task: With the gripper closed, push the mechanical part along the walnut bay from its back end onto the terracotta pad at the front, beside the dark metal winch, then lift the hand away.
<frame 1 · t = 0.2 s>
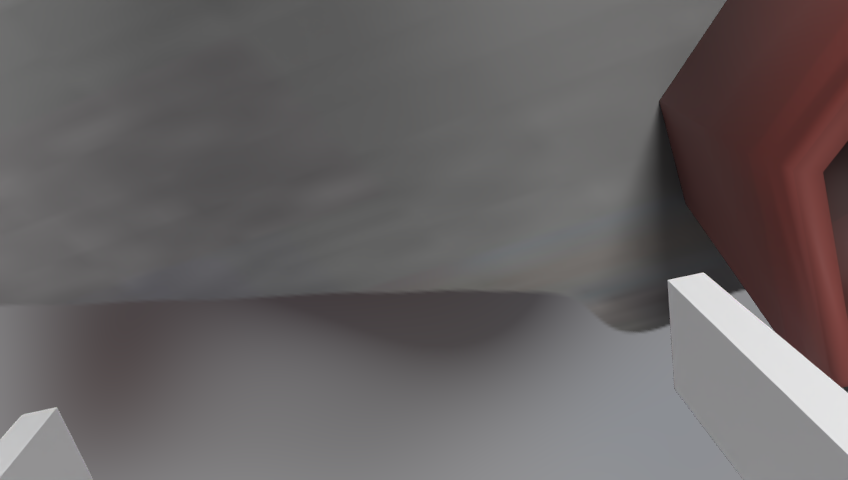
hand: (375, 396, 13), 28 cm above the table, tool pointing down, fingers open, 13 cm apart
bucket: (793, 101, 40), on the table
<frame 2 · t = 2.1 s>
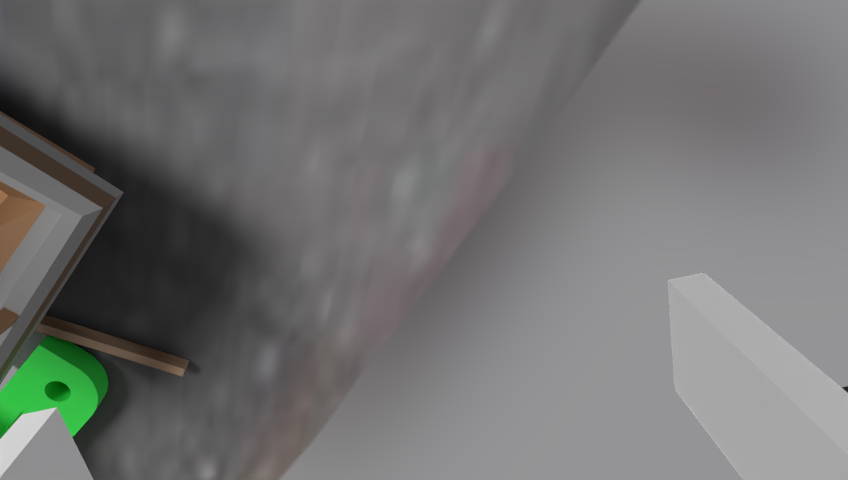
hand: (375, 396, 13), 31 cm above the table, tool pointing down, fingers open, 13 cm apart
mechanical part: (46, 402, 48), resting in bay
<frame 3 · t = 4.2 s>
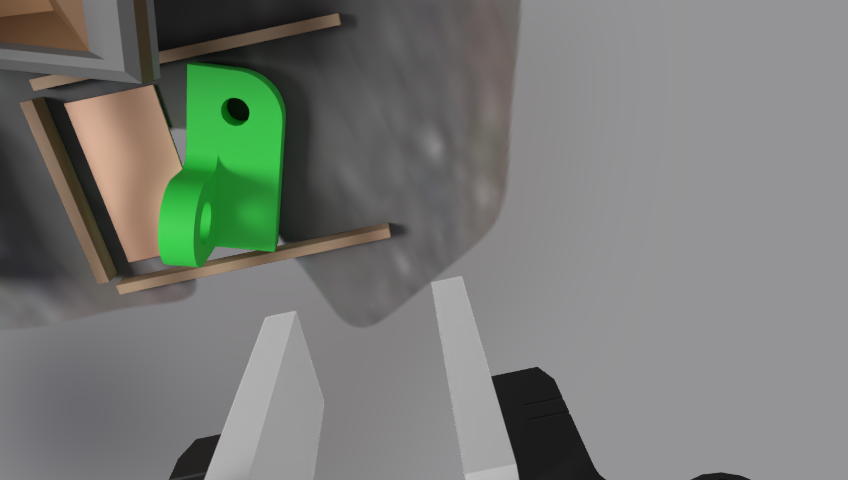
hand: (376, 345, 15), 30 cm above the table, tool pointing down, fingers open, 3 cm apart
bay: (183, 168, 43), on the table
mechanical part: (239, 156, 43), resting in bay
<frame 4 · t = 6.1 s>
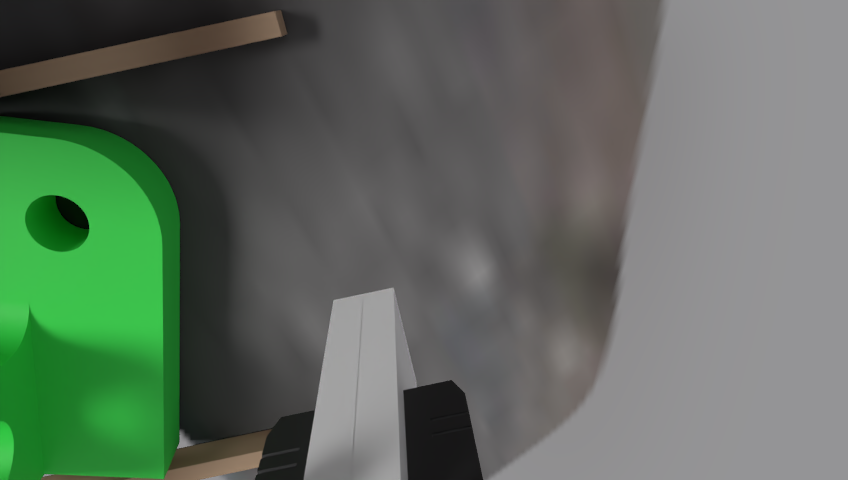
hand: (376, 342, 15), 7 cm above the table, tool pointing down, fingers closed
mechanical part: (92, 293, 22), resting in bay
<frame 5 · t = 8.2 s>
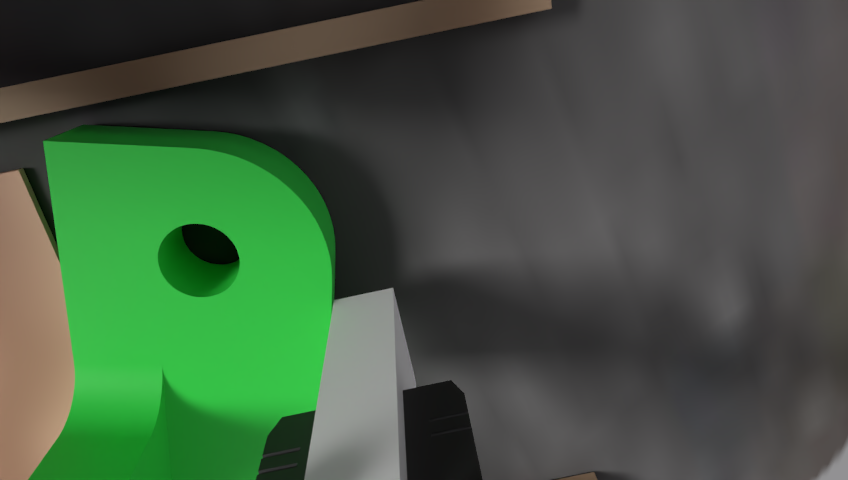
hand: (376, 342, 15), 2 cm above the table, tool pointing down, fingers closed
bay: (110, 367, 17), on the table
mechanical part: (224, 344, 17), resting in bay
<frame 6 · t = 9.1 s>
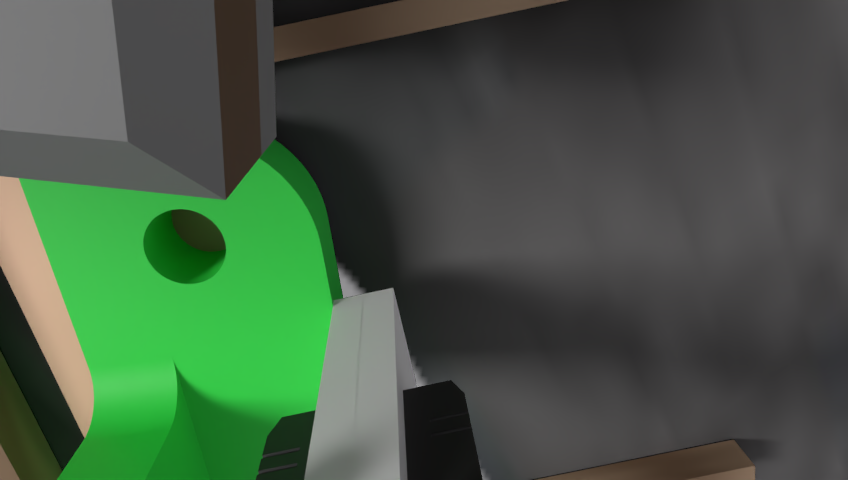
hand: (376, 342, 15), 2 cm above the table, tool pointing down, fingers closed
bay: (269, 331, 17), on the table
mechanical part: (240, 331, 17), resting in bay, touching gripper
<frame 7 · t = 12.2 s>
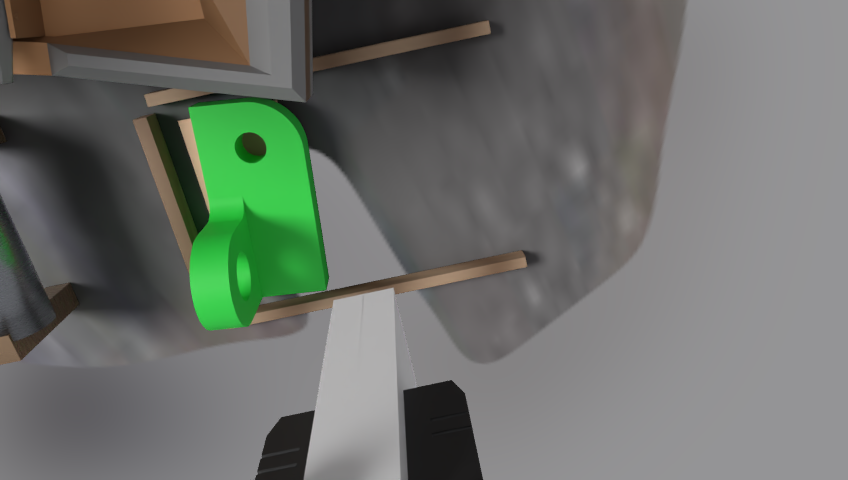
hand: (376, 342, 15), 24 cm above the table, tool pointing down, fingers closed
bay: (302, 191, 39), on the table
winch: (27, 217, 39), on the table
mechanical part: (267, 194, 39), resting on bay
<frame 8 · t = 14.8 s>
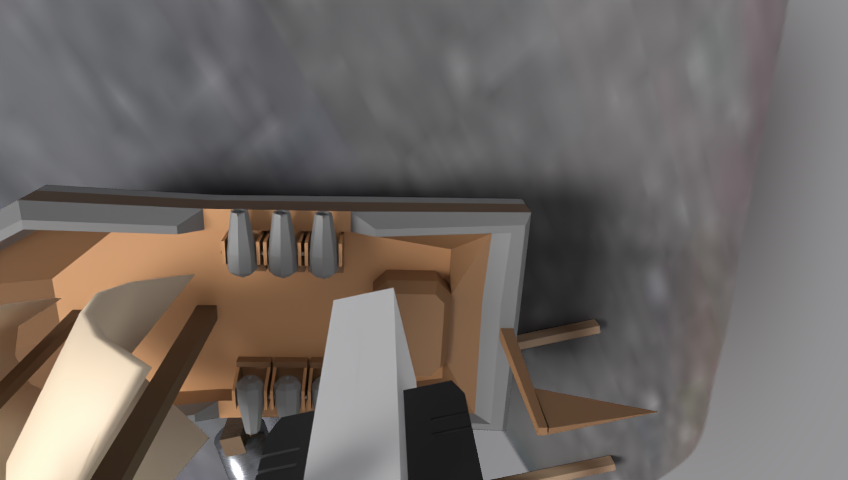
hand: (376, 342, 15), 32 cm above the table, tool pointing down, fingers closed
bay: (460, 423, 56), on the table
sailing ship: (284, 262, 50), on the table
winch: (269, 443, 55), on the table
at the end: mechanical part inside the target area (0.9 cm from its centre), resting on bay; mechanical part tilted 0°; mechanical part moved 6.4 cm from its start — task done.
